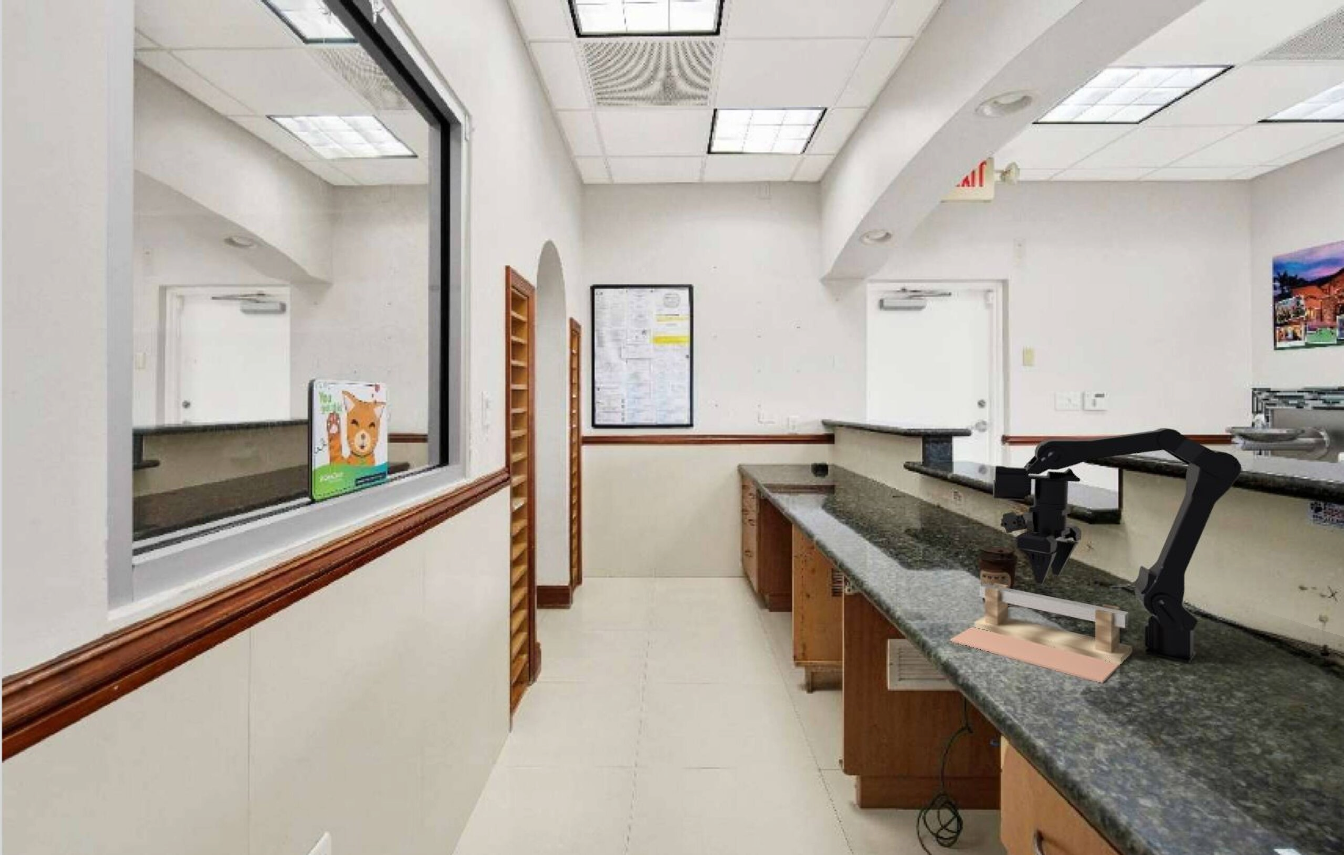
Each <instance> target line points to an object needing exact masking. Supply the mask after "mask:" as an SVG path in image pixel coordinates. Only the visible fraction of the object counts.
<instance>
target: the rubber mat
mask: <svg viewBox="0 0 1344 855" xmlns="http://www.w3.org/2000/svg"><path fill="white" fill-rule="evenodd" d="M949 641H950V642H951V641H952V643H955V644H958V643H959V645H962V646H965V645H967V646H966V647H969V646H970V648H973V647H974V648H973V649H976V648H978V649H977V650H980V649H981V651H984V650H985V651H984V652H987V651H989V652H988V653H992V654H995V655H999V656H1001V657H1005V658H1010V659H1013V660H1017V661H1020V662H1024V663H1027V664H1031V665H1034V666H1039V667H1042V668H1046V669H1049V670H1053V671H1057V672H1059V671H1060V673H1064V674H1066V675H1067V674H1068V675H1071V676H1074V677H1078V678H1081V679H1084V680H1085V679H1086V680H1089V681H1093V682H1096V681H1097V682H1096V683H1099V682H1101V683H1100V684H1103V683H1104V682H1105V681H1107V679H1109V677H1110V676H1111V675H1112V674H1113V673H1114V672H1115V671H1116V670H1117V669H1118V668H1119V667H1120V664H1117V663H1113V662H1109V661H1105V660H1101V659H1097V658H1093V657H1089V656H1085V655H1081V654H1077V653H1073V652H1069V651H1065V650H1062V649H1058V648H1054V647H1050V646H1046V645H1042V644H1038V643H1034V642H1030V641H1026V640H1022V639H1018V638H1014V637H1010V636H1006V635H1002V634H998V633H994V632H990V631H986V630H982V629H978V628H974V626H971V627H970V628H968V629H965V630H964V631H963V632H960V633H959V634H957V635H955V636H953V637H952V638H951V639H949Z"/></svg>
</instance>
